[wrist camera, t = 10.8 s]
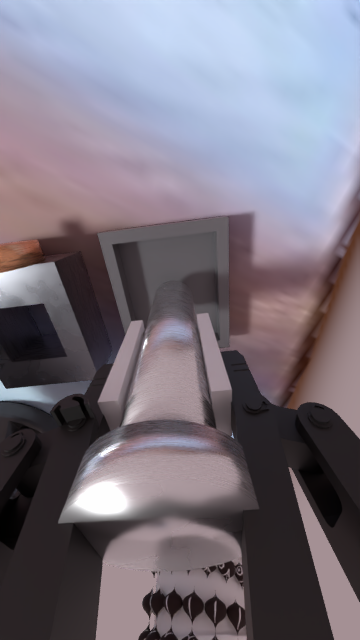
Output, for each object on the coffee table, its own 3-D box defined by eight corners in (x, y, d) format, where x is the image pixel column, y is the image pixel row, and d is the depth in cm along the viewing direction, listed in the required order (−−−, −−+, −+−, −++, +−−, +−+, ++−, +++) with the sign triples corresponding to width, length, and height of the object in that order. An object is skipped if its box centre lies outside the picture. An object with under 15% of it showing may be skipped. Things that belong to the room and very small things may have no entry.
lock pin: (202, 319, 21) (261, 566, 6) (151, 325, 21) (95, 576, 7) (198, 268, 19) (278, 472, 4) (141, 275, 19) (17, 492, 4)
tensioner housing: (112, 350, 26) (88, 402, 19) (34, 359, 26) (-18, 413, 19) (70, 219, 19) (8, 224, 12) (-34, 233, 20) (-153, 245, 12)
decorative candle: (165, 382, 29) (129, 978, 6) (229, 393, 30) (387, 928, 8) (153, 425, 33) (104, 881, 10) (209, 433, 34) (274, 858, 12)
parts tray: (224, 335, 25) (229, 346, 23) (135, 344, 26) (131, 357, 23) (222, 216, 19) (228, 216, 17) (106, 231, 20) (97, 233, 17)
